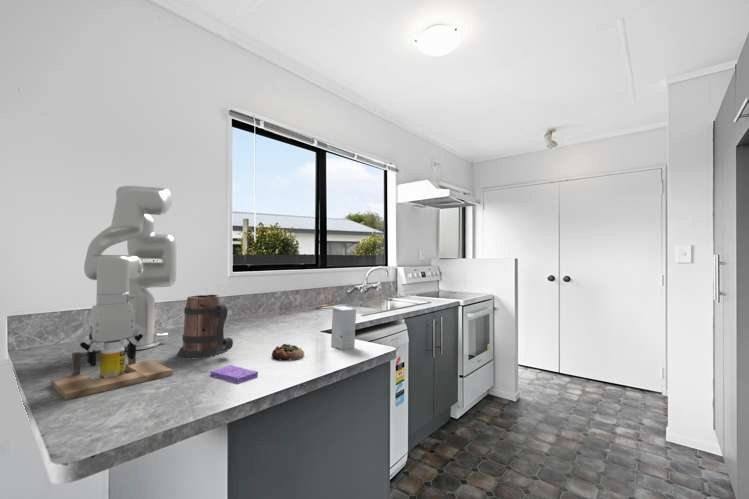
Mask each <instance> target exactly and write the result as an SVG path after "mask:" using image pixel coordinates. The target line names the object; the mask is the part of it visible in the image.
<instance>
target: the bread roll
mask: <svg viewBox="0 0 749 499" xmlns="http://www.w3.org/2000/svg"><path fill="white" fill-rule="evenodd" d="M304 355H305V351H304V350H303V349H302V347H298V345H292V344H291V343H290V344H288V343H283V344H282V345H281V346H279V345H277V346H276V347H274V349H273V351H272V352H271V357H272V359H273V360H274V361H275V360H276V361H282V362H283V361H290V360H291V361H292V360H293V361H297V360H300V359H303V358H302V357H304ZM299 358H300V359H299Z"/></svg>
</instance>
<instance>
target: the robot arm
mask: <svg viewBox="0 0 749 499" xmlns="http://www.w3.org/2000/svg"><path fill="white" fill-rule="evenodd" d="M115 197H116V198H115V199H116V201H115V203H114V204H115V206H114V210H113V214H112V220H111V225H110V226H108V227H107V228H105V229H104V230H102V231H100V232H99V233H98V234H97V235H96V236H95V237H94V238H93V239H92V240H91V241H90V243H89V245H88V246H87V252H86V255H85V259H84V264H83V265H84V266H83V271H84V274H85V276H86V278H88V280H91V281H96V295H95V296H96V305H92V307H91V311H90V315H89V323H88V328H87V329H85V330H84V331H82V332H80V333H79V334H77V335H75V336H74V338H73V339H74V341H75V342H76V343H77V345H79V347H81V348H82V349H84V350H85V351H86V352H87V356H86V358H87V359H86V360H87V361H86V362H87V364H89V366H90V367H93V368H94V367H95V366H97V355H96V351H95V350H96V348H97V347H98V346H99V344H100V343H104V342H109V341H115V340H121V341H122V340H124V341H123V342H124V343H121V346H126V345H127V349H126V350H125V351H127V353H126V354H127V355H126V356H127V359H128V358H129V359H134V355H135V354H136V355H137V351H139V350H146V349H151V348H155V347H157V346H159V345H160V341H159V340H160V339H168V338H169V333H168V332H163V333H161V332H160V333H158V332H155V315H156V314H155V305H156V301H155V297H154V295H153V294H152V293H151V292H150V290H148V289H151V288H169V287H172V286H173V285H175V284H176V281H177V245H176V240H175V238H174V236H172V235H171V234H167V233H166V234H165V233H164V234H163V233H155V220H154V218H153V217H152V216H151V215H155V216H156V215H157V216H163V215H165V214H166V213H167V212H168V211H170V208H171V206H172V202H173V197H172V193H171V191H170V190H169V189H168V188H167V187H156V186H155V187H153V186H144V185H143V186H141V185H122V186H119V187H117V189H116V191H115ZM124 242H127V243H126V244H127V245H126V247H127V249H126V250H127V253H128V254H103V253H104V252H105V251H106V250H107V249H109V248H110V247H112V246H115V245H117V244H120V243H124ZM142 259H144V260H146V259H147V260H148V259H150V260H157V259H158V260H161V261H162V262H157V261H155V262H152V261H151V262H150V261H149V262H148V261H147V262H144V261H142ZM86 337H88V340H89V341H90V342H89V343H88V344H87V343H86V342H85V340H84V338H86Z"/></svg>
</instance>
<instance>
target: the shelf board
mask: <svg viewBox="0 0 749 499" xmlns="http://www.w3.org/2000/svg"><path fill="white" fill-rule="evenodd" d="M121 347H124V349H125V351H127V350H126V349H127V345H126V346H121ZM102 349H103V348H101V349H97V350H96V349H95V351H96V356H97V355H100V352H101V350H102ZM136 355H137V353H136V354H135V355H134V359H129V358H127V359H128V362H127V363H126V364H124V371H127V372H129V373H124V374H123V375H118V376H113V377H109V378H104V379H100V378H99V379H93V378H92V377H91V376H89V375H88V374H87V373H85V372H81V358H83V357H84V358H85V357H87V351H84V352H81V351H74V352H73V351H72V354H71V356H72V357H71V374H70V375H66V376H60V377H55V378H51V379H50V385H51V386H52V388H53V389H54V390H55V391H57V393H58V394H59V395H60V396H61V397H62V398H63V399H65V401H66V400H67V401H68V400H72V399H76V398H80V397H84V396H89V395H92V394H96V393H101V392H106V391H110V390H114V389H118V388H119V389H120V388H123V387H128V386H131V385H135V384H140V383H144V382H147V381H148V382H149V381H152V380H156V379H160V378H165V377H170V376H173V372H174V371H173V368H170V367H168V366H166V365H163V364H161V363H159V362H157V361H155V360H153V359H146V360H142V361H136V359H137V356H136Z"/></svg>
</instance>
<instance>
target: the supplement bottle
mask: <svg viewBox="0 0 749 499" xmlns="http://www.w3.org/2000/svg"><path fill="white" fill-rule="evenodd" d="M121 344H122V340H115V341H109V342H103V346H104V347H103V348H101V349H102V350H101V349H100V350H101V352H100V354H99V355H100V356H99V357H100V358H99V359H100V360H99V361H100V362H99V363H100V364H99V366H100V368H99V379H104V378H109V377H113V376H118V375H123V374H125V351H126V350H125V349H124V347H121Z"/></svg>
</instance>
